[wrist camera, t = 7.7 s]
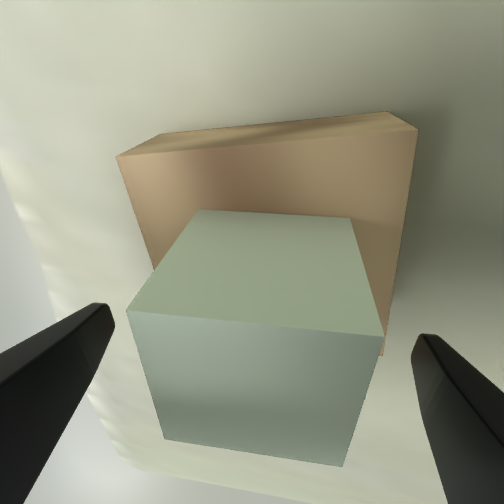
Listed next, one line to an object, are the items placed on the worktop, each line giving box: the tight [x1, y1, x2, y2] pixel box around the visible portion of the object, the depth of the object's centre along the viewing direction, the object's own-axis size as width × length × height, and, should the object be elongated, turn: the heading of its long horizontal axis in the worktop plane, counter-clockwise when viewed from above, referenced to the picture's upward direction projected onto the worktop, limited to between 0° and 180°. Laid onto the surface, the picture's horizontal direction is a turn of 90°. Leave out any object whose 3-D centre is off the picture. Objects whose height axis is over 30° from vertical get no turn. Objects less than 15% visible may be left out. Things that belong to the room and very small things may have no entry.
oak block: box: [116, 111, 418, 356], centre depth 13 cm, size 9×9×4 cm
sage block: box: [126, 209, 385, 467], centre depth 9 cm, size 5×5×5 cm
